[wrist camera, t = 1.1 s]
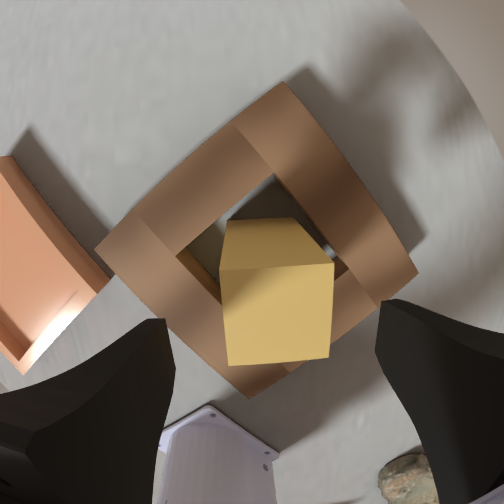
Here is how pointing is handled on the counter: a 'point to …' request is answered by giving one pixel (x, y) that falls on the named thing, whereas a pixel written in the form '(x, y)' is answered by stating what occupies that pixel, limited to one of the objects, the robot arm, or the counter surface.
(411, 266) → the socket block
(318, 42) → the counter surface
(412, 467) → the long grey stone
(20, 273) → the tray
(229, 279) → the peg
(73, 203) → the counter surface
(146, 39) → the counter surface
